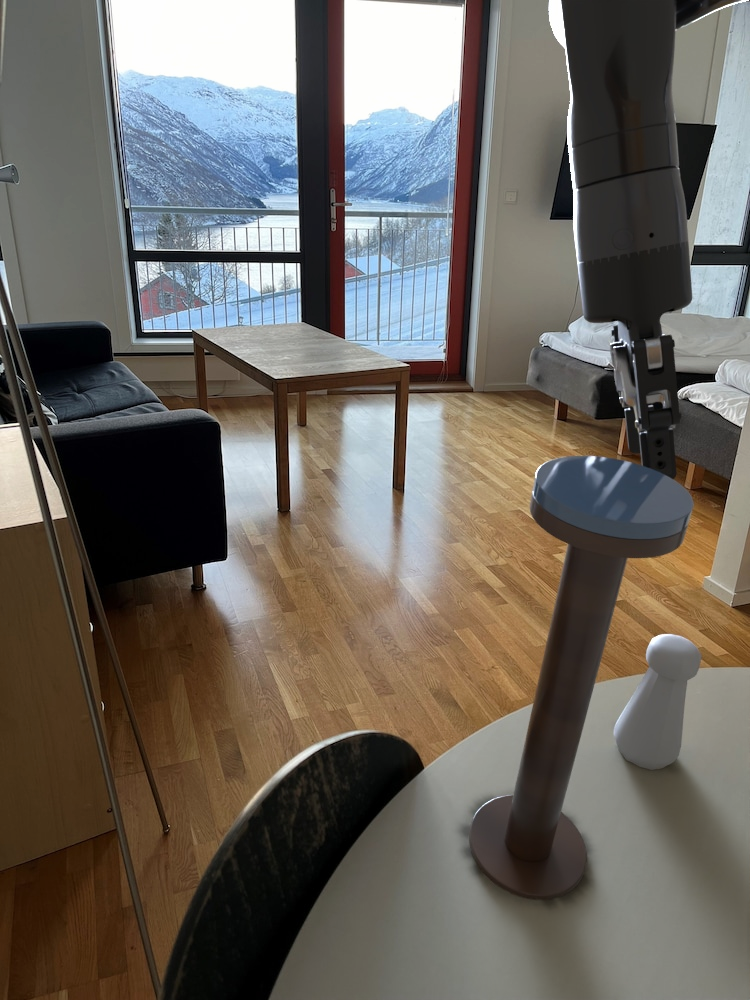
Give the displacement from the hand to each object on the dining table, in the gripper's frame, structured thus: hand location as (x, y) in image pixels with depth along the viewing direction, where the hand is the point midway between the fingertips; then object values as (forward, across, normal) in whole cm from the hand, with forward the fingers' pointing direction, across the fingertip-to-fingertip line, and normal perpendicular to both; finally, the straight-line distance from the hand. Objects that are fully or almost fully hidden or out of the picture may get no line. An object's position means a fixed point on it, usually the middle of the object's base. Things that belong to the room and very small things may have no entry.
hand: (650, 464), depth 57 cm
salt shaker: (+29, +3, +3) cm, 29 cm away
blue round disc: (-2, -15, +4) cm, 15 cm away
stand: (+27, -10, +13) cm, 32 cm away
